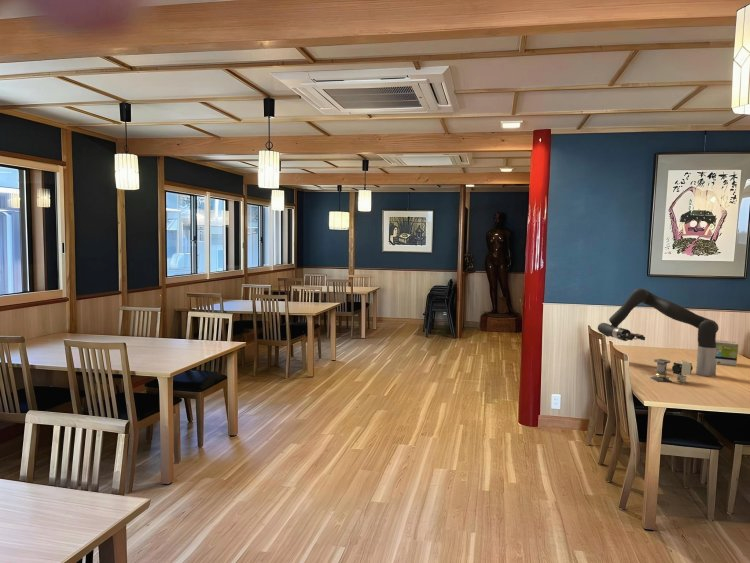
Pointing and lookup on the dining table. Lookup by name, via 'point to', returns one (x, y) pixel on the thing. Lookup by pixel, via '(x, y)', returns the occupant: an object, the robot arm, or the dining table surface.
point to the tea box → (726, 352)
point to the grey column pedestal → (661, 369)
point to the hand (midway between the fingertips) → (638, 338)
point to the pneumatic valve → (682, 370)
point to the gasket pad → (660, 380)
